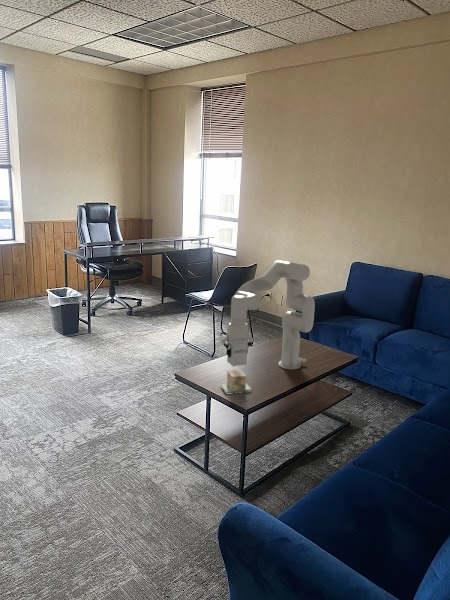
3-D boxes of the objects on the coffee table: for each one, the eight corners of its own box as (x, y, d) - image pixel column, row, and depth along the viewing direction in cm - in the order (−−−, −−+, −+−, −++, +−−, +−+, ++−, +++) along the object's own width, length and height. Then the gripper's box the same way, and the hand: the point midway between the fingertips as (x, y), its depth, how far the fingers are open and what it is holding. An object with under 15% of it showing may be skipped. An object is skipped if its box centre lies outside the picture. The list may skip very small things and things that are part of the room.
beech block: (240, 382, 237) (240, 369, 235) (245, 389, 229) (246, 375, 228) (227, 383, 235) (227, 370, 233) (231, 390, 227) (232, 377, 226)
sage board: (245, 384, 238) (245, 381, 238) (251, 392, 230) (251, 389, 230) (220, 387, 235) (220, 384, 234) (226, 394, 226) (226, 391, 226)
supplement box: (233, 366, 224) (234, 341, 221) (226, 361, 231) (227, 337, 228) (246, 365, 227) (248, 340, 224) (240, 359, 234) (241, 335, 231)
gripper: (252, 317, 230) (251, 351, 234) (218, 319, 225) (217, 354, 229) (258, 322, 223) (256, 357, 227) (223, 324, 218) (222, 359, 222)
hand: (237, 355), depth 228 cm, fingers closed on supplement box, 7 cm apart
